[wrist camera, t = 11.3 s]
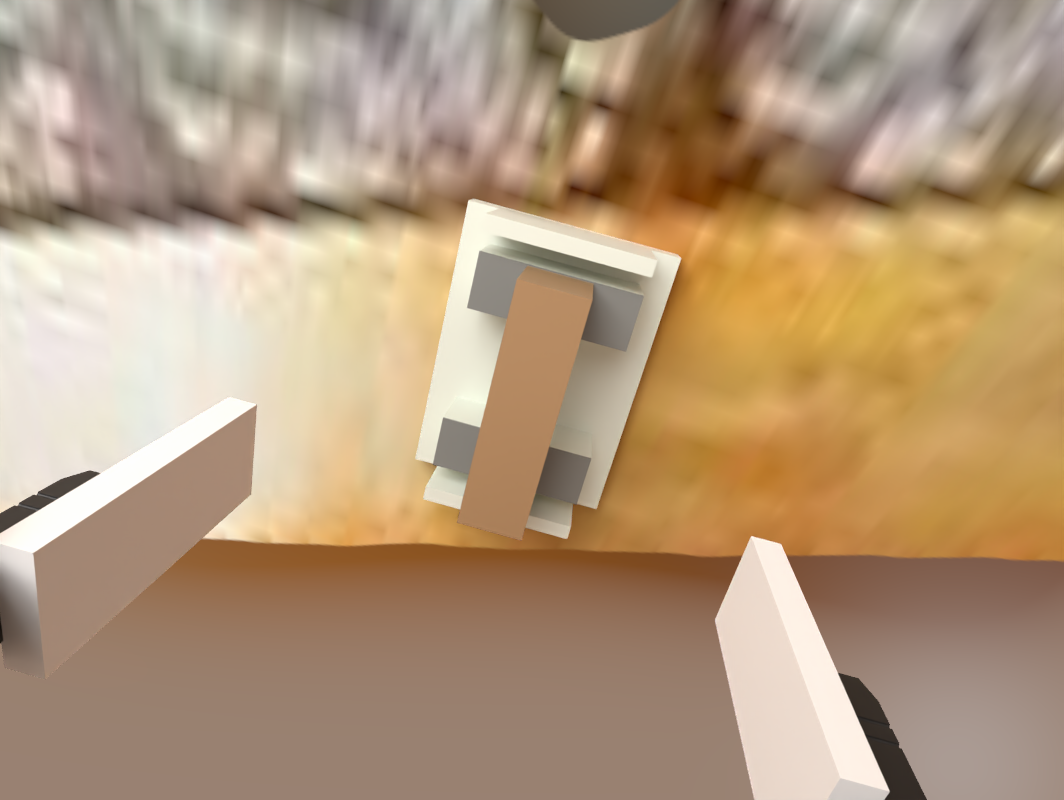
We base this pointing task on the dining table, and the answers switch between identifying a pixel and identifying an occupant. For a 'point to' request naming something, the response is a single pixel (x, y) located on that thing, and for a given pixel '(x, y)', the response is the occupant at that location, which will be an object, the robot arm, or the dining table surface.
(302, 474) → the dining table surface
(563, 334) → the tan wooden plank
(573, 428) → the stand
